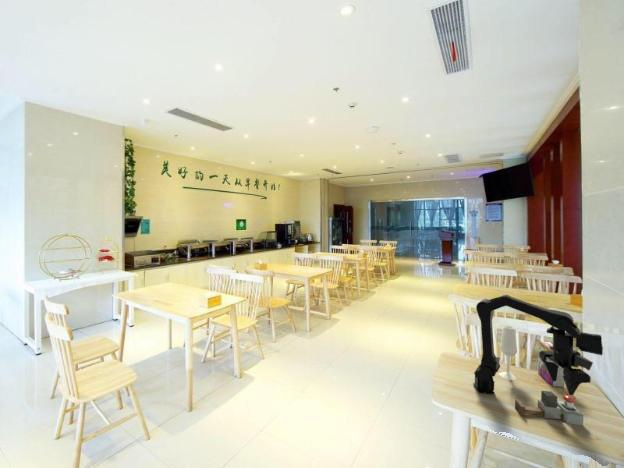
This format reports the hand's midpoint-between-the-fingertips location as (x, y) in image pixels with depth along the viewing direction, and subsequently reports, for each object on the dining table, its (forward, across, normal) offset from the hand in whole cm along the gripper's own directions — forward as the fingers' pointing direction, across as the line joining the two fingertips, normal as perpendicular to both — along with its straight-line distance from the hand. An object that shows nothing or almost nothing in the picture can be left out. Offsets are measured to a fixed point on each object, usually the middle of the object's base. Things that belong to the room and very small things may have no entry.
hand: (562, 387), depth 104 cm
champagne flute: (+11, +28, +6) cm, 31 cm away
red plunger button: (+9, 0, -2) cm, 9 cm away
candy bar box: (+12, +28, -12) cm, 33 cm away
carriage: (+11, 0, +4) cm, 12 cm away
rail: (+11, 0, +8) cm, 14 cm away
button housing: (+12, 0, -2) cm, 12 cm away
